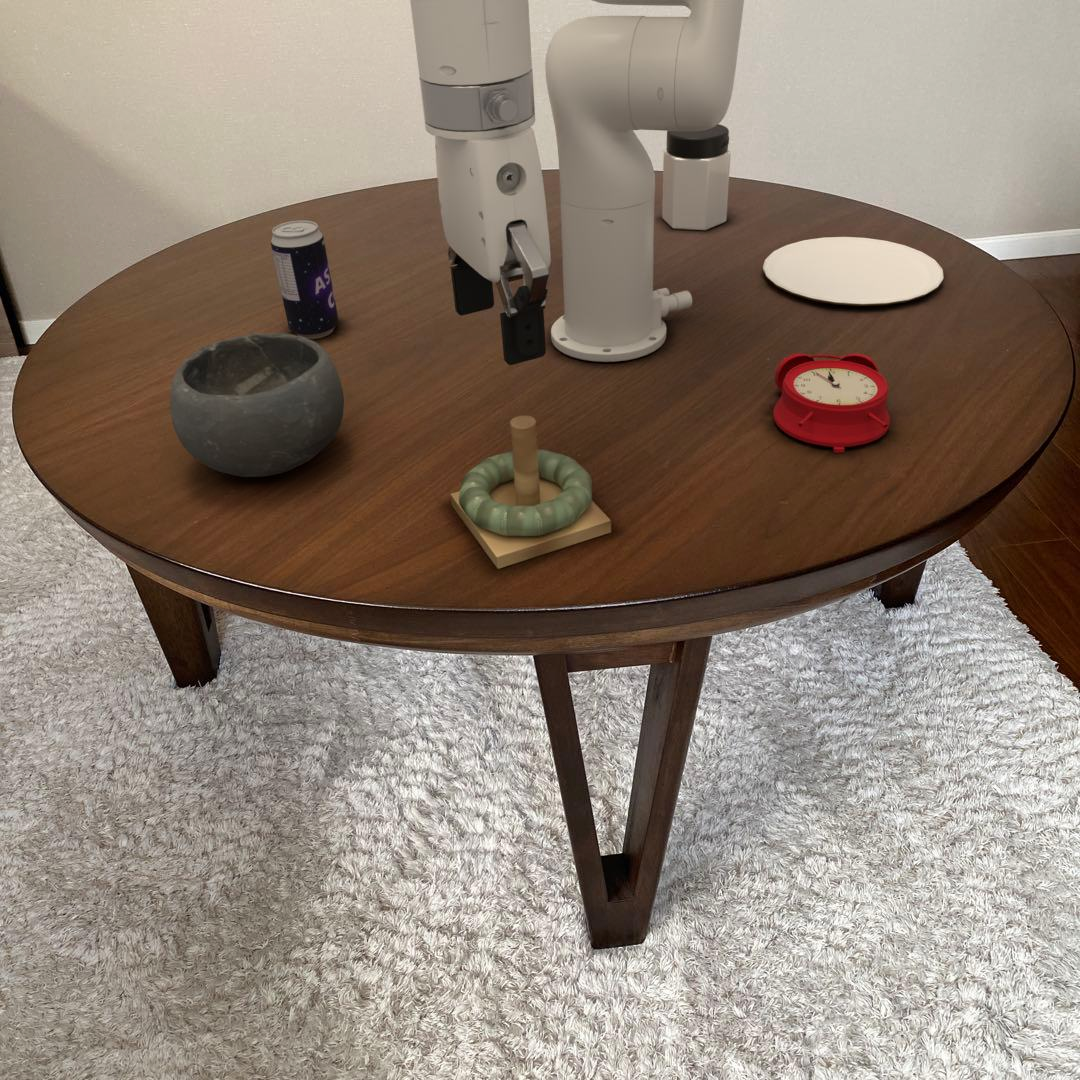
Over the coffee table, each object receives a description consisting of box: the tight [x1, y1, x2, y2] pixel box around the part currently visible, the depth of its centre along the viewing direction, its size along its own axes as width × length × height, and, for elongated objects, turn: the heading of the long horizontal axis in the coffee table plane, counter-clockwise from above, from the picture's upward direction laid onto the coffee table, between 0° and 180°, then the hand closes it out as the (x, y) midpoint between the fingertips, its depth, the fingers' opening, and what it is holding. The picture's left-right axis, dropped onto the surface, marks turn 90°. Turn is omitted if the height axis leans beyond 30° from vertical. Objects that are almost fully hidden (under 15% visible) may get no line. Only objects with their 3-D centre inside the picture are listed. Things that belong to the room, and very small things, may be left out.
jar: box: [661, 123, 732, 231], centre depth 135 cm, size 9×8×12 cm
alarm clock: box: [772, 352, 891, 454], centre depth 93 cm, size 10×6×15 cm
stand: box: [449, 415, 612, 570], centre depth 80 cm, size 10×10×9 cm
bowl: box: [169, 332, 345, 478], centre depth 89 cm, size 15×15×10 cm
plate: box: [762, 236, 945, 307], centre depth 120 cm, size 21×21×1 cm
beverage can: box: [270, 219, 340, 340], centre depth 111 cm, size 6×6×12 cm
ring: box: [459, 448, 593, 536], centre depth 82 cm, size 11×11×2 cm
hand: (499, 333), depth 78 cm, fingers open, 9 cm apart
